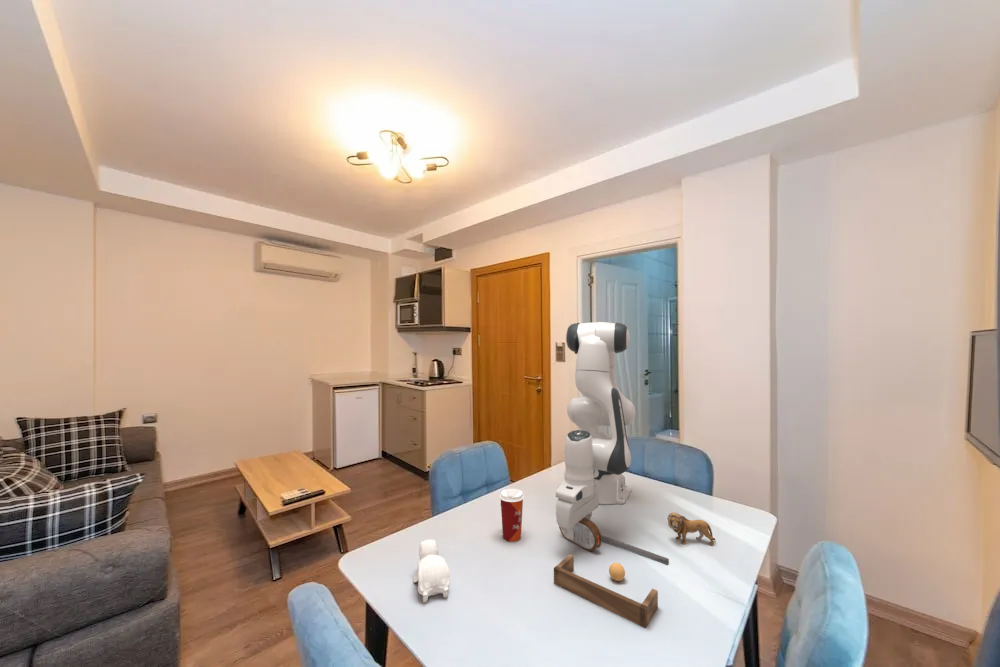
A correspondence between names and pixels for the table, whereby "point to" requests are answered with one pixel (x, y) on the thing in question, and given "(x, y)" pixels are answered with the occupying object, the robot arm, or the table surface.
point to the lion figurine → (689, 527)
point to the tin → (585, 534)
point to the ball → (616, 571)
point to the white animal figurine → (431, 571)
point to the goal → (605, 594)
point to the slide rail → (635, 550)
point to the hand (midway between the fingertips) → (579, 531)
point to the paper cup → (511, 514)
